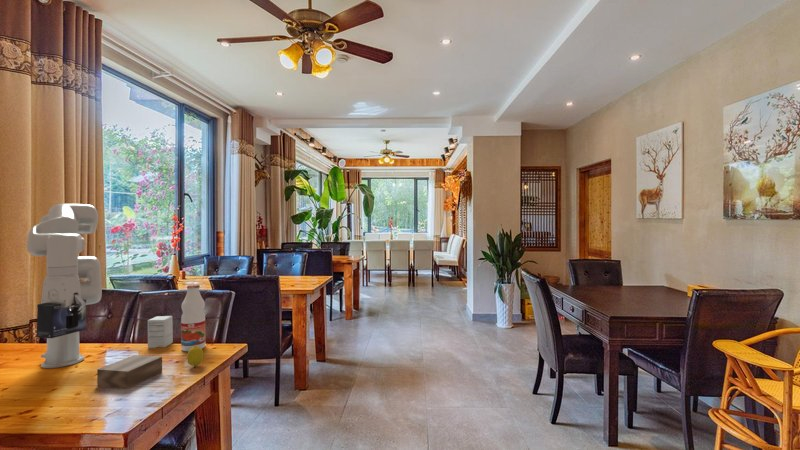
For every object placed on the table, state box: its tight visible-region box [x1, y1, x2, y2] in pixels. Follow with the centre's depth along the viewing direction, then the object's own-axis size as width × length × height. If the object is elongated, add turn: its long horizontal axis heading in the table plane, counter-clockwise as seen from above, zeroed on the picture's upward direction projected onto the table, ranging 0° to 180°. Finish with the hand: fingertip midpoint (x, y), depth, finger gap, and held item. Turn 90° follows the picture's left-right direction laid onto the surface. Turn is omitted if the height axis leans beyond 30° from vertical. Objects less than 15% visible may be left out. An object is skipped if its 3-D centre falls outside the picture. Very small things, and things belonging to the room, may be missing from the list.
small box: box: [35, 299, 87, 339], centre depth 119 cm, size 11×6×10 cm, turn 168°
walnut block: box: [96, 354, 163, 390], centre depth 129 cm, size 12×14×6 cm
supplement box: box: [147, 315, 174, 349], centre depth 166 cm, size 7×7×13 cm
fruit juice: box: [180, 283, 206, 352], centre depth 162 cm, size 9×9×28 cm
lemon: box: [186, 346, 205, 368], centre depth 140 cm, size 6×6×8 cm
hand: (62, 326), depth 119 cm, fingers closed on small box, 6 cm apart
